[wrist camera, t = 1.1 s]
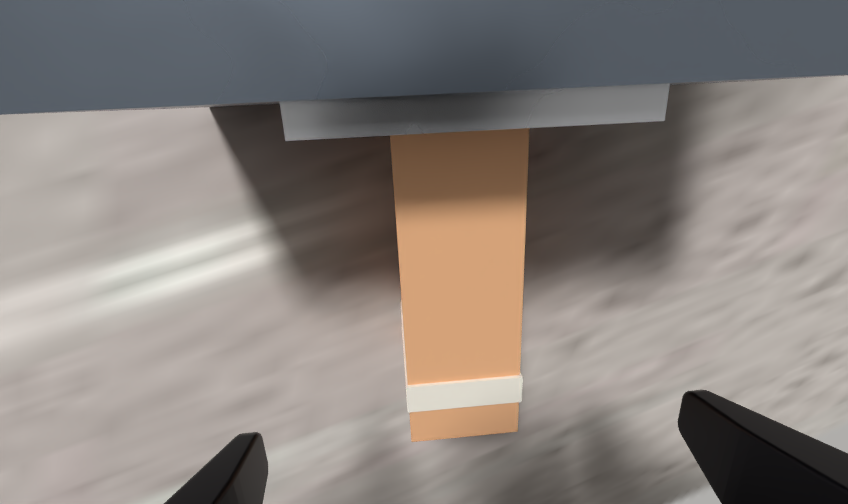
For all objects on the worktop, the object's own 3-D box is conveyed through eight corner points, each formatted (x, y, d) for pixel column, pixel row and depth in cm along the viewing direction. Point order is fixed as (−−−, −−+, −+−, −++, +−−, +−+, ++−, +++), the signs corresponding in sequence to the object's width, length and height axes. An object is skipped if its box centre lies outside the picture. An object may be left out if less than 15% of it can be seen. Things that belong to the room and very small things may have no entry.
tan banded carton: (481, 337, 17) (520, 434, 12) (403, 344, 16) (410, 445, 12) (482, -96, 12) (548, -230, 7) (371, -94, 12) (361, -231, 7)
